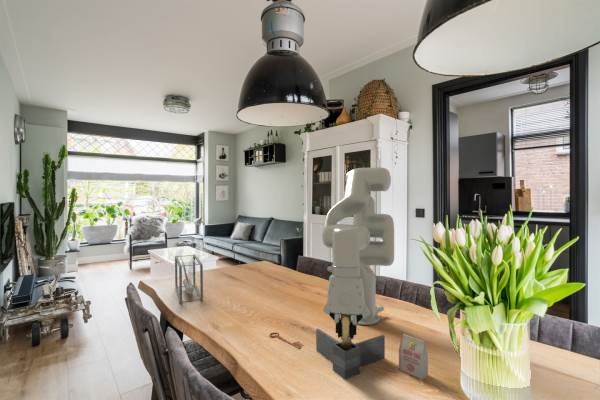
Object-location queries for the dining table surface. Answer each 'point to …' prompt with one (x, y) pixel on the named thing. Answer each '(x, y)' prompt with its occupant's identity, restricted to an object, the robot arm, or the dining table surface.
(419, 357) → the tea bag
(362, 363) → the bracket
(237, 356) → the dining table surface
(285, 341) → the key
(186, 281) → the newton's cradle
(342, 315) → the hinge pin
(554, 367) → the dining table surface
